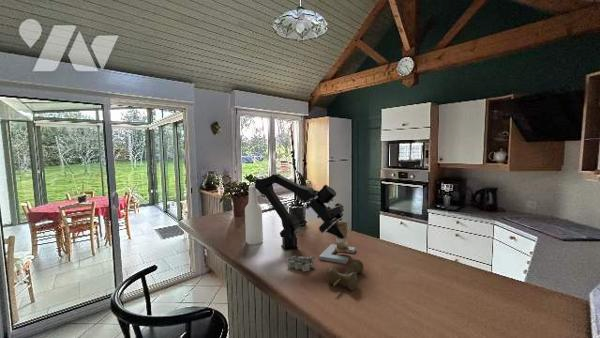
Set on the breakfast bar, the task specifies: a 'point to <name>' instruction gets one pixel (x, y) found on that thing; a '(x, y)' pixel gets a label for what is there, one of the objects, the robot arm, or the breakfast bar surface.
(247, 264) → the breakfast bar surface
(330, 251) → the notched board
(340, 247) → the bobbin
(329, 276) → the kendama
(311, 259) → the egg carton
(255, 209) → the alcohol
